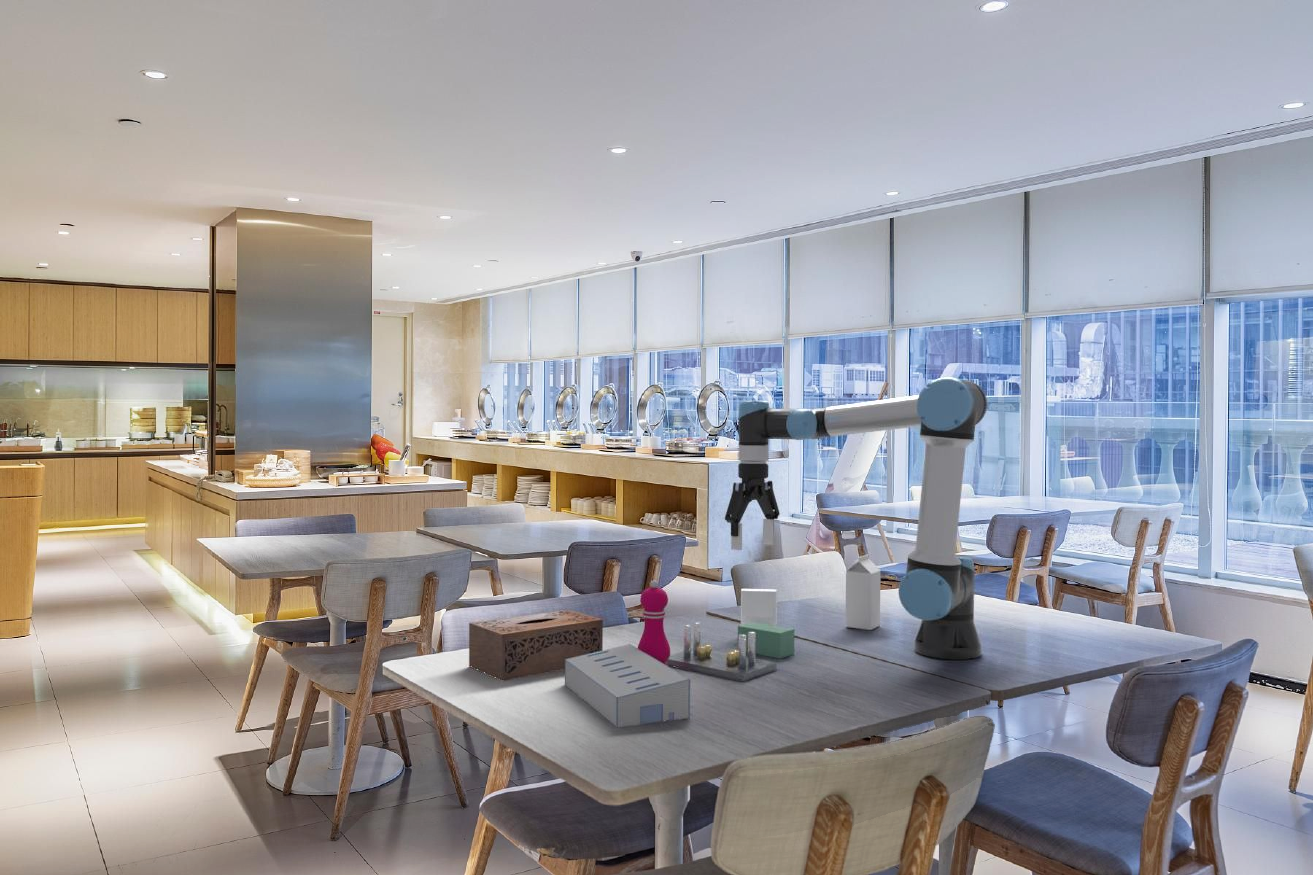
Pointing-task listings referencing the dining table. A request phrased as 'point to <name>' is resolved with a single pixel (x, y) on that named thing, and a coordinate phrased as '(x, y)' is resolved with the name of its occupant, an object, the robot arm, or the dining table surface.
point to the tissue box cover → (532, 643)
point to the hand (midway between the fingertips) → (752, 547)
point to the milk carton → (863, 594)
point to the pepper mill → (654, 623)
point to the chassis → (720, 658)
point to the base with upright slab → (759, 606)
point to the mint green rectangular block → (769, 639)
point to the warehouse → (629, 686)
